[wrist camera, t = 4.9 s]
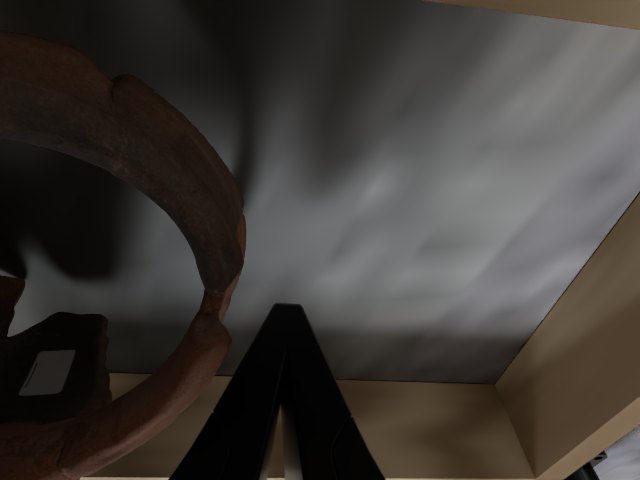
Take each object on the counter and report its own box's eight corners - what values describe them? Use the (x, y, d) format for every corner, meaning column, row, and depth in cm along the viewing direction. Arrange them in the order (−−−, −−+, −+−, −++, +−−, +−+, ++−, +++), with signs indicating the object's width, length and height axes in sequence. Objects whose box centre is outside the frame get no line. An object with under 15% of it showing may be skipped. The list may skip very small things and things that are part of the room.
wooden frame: (862, -26, 8) (1235, -6, 5) (507, 398, 19) (549, 490, 15) (-271, -211, 6) (-949, -391, 3) (70, 386, 17) (16, 489, 13)
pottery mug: (-271, -5, 8) (-1901, -286, 1) (194, 49, 12) (317, 42, 6) (-74, 413, 13) (-231, 782, 6) (207, 338, 17) (284, 504, 11)
